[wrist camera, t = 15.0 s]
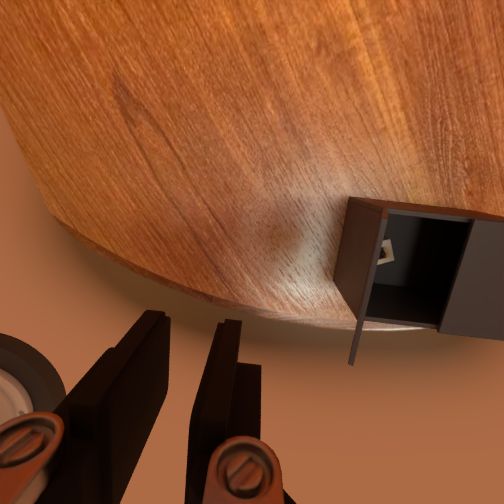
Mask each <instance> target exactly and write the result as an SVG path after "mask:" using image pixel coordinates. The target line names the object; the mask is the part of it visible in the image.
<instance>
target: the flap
mask: <svg viewBox="0 0 504 504" xmlns="http://www.w3.org/2000/svg"><path fill="white" fill-rule="evenodd" d="M387 222H388V210H387V209H383V212H382V216H381V221H380V225H379V229H378V234H377V238H376V242H375V247H374V251H373V255H372V260H371V264H370V268H369V272H368V277H367V281H366V285H365V290H364V294H363V298H362V303H361V307H360V311H359V316H358V320H357V324H356V329H355V334H354V338H353V343H352V347H351V352H350V357H349V361H348V364H349V365H352V366H353V364H354V360H355V356H356V352H357V347H358V343H359V339H360V335H361V331H362V327H363V322H364V318H365V314H366V310H367V306H368V301H369V297H370V293H371V289H372V285H373V281H374V276H375V272H376V268H377V264H378V260H379V255H380V251H381V247H382V243H383V239H384V234H385V230H386V226H387Z"/></svg>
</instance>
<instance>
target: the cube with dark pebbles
mask: <svg viewBox="0 0 504 504" xmlns="http://www.w3.org/2000/svg"><path fill="white" fill-rule="evenodd" d="M393 260H394V256H393V251H392V246H391V241H390V239H389V238H388V237H386V236H384V239H383V243H382V247H381V251H380V255H379V260H378V264H377V265H379V264H382V263H386V262H390V261H393Z"/></svg>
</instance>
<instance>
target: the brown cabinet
mask: <svg viewBox="0 0 504 504" xmlns="http://www.w3.org/2000/svg"><path fill="white" fill-rule="evenodd" d="M383 209H387V210H388V222H387V226H386V230H385V234H384V236H386V237H388V238H389V239H390V241H391V246H392V251H393V256H394V260H393V261H390V262H386V263H382V264H379V265H377V268H376V272H375V276H374V281H373V285H372V289H371V293H370V297H369V301H368V306H367V310H366V314H365V318H364V321H372V322H380V323H389V324H397V325H406V326H414V327H423V328H431V329H437V332H438V333H443V334H451V335H459V336H468V337H476V338H485V339H494V340H502V341H504V217H502V216H497V215H492V214H487V213H482V212H477V211H472V210H464V209H455V208H446V207H437V206H429V205H420V204H411V203H402V202H393V201H385V200H376V199H367V198H358V197H349V200H348V205H347V211H346V216H345V221H344V226H343V231H342V236H341V241H340V246H339V251H338V256H337V261H336V266H335V271H334V276H333V282H334V283H335V285H336V287H337V288H338V290H339V292H340V293H341V295H342V296H343V298H344V300H345V301H346V303H347V305H348V306H349V308H350V309H351V311H352V313H353V314H354V316H355V318H356V319H357V320H358V316H359V311H360V307H361V303H362V298H363V294H364V290H365V285H366V281H367V277H368V272H369V268H370V264H371V260H372V255H373V251H374V247H375V242H376V238H377V234H378V229H379V225H380V221H381V216H382V212H383Z"/></svg>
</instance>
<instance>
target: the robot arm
mask: <svg viewBox="0 0 504 504" xmlns="http://www.w3.org/2000/svg"><path fill="white" fill-rule="evenodd" d="M170 323H171V319H170V317H167V316H165V312H163V311H154V310H146V311H145V312H144V313H143V314H142V316H141V317H140V318H139V319H138V320H137V321H136V323H135V324H134V325H133V326H132V327H131V328H130V330H129V331H128V332H127V333H126V334H125V336H124V337H123V338H122V339H121V340H120V342H119V343H118V344H117V345H116V346H115V348H114V347H111V348H109V349H108V350H107V351H105V353H104V354H103V355H102V356H101V357H100V358H99V359H98V360H97V362H96V363H95V364H94V365H93V366H92V367H91V368H90V370H89V371H88V372H87V373H86V374H85V375H84V377H83V378H82V379H81V380H80V381H79V382H78V383H77V384H76V386H75V387H74V388H73V389H72V390H71V391H70V393H69V394H68V395H67V396H66V397H65V398H64V399H63V401H62V402H61V403H60V404H59V405H58V406H57V407H56V409H55V410H54V411H53V412H52V413H51V412H33V405H32V402H31V398H30V396H29V394H28V392H27V391H26V389H25V388H24V387H23V385H22V384H21V383H20V382H19V381H18V380H17V379H16V378H15V377H13V376H12V375H11V374H9V373H8V372H6V371H4V370H2V369H1V368H0V504H120V502H121V499H122V497H123V495H124V493H125V490H126V488H127V485H128V483H129V481H130V479H131V476H132V473H133V471H134V469H135V467H136V465H137V462H138V460H139V458H140V456H141V453H142V451H143V448H144V446H145V444H146V441H147V439H148V437H149V435H150V432H151V430H152V428H153V425H154V423H155V421H156V418H157V416H158V414H159V412H160V409H161V406H162V405H163V402H164V400H165V398H166V395H167V391H168V380H169V353H170V352H169V351H170ZM241 325H242V321H238V320H230V319H225V322H224V323H218V325H217V329H216V332H215V335H214V339H213V342H212V346H211V349H210V352H209V356H208V359H207V362H206V366H205V369H204V372H203V375H202V379H201V382H200V385H199V389H198V392H197V395H196V399H195V402H194V405H193V410H192V413H191V419H190V426H189V438H188V439H189V440H188V456H187V471H186V487H185V503H184V504H296V503H295V502H294V500H293V499H292V498H291V497H290V496H289V495H288V494H287V493H286V492H285V490H284V489H283V483H282V471H281V467H280V463H279V460H278V458H277V457H276V454H275V453H274V451H273V450H272V449H271V448H270V447H269V446H268V445H267V444H266V443H264V442H262V441H261V440H260V428H261V421H260V420H261V365H256V364H248V363H239V362H238V361H237V360H238V352H239V344H240V334H241Z"/></svg>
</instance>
